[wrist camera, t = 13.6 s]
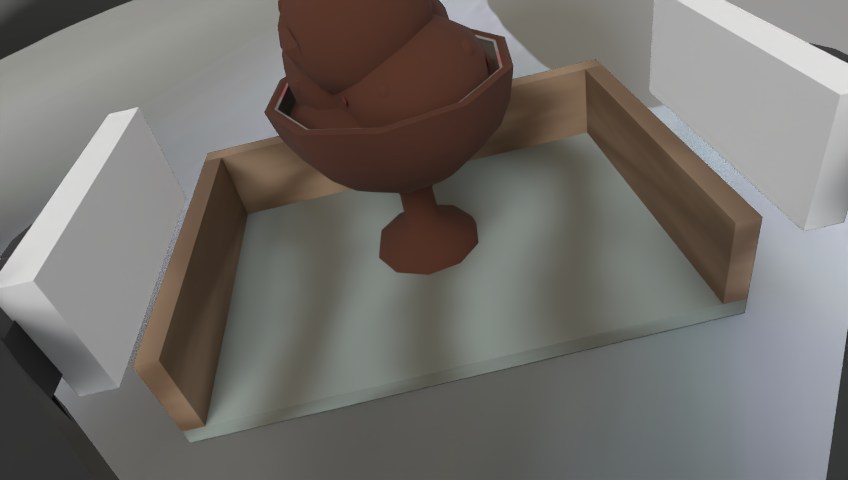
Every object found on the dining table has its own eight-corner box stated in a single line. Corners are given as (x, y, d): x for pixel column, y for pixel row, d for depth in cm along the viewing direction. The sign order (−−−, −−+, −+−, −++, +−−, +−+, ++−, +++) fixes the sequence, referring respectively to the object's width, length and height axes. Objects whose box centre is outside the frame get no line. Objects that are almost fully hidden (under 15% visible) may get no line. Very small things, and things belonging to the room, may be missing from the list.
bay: (190, 442, 25) (132, 366, 22) (239, 219, 39) (207, 153, 36) (744, 312, 25) (762, 216, 22) (597, 133, 38) (595, 59, 35)
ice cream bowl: (571, 261, 28) (552, -90, 19) (348, 344, 27) (212, 8, 18) (486, 164, 36) (444, -112, 27) (313, 223, 35) (209, -47, 26)
